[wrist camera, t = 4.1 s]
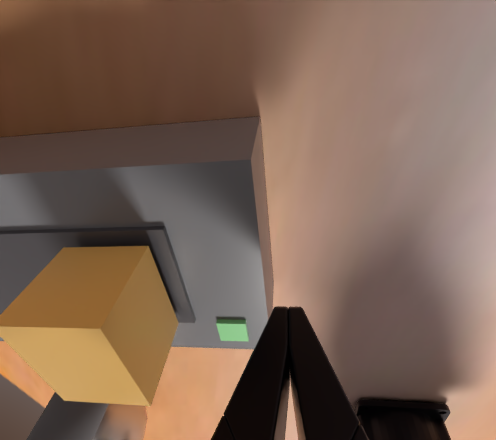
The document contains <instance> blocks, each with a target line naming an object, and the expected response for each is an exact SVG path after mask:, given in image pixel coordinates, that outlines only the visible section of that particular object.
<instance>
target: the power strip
mask: <svg viewBox="0 0 496 440" xmlns="http://www.w3.org/2000/svg"><path fill="white" fill-rule="evenodd" d="M116 246H149V249H150V251H151V254H152V256H153V259H154V262H155V264H156V267H157V269H158V272H159V274H160V277H161V279H162V282H163V285H164V287H165V290H166V292H167V295H168V297H169V300H170V302H171V305H172V307H173V310H174V313H175V315H176V318H177V320H178V323H179V324H178V327H177V330H176V333H175V336H174V339H173V341H172V344H171V347H202V348H233V349H255V346H256V344H257V342H258V340H259V338H260V336H261V334H262V332H263V330H264V328H265V325H266V323H267V321H268V319H269V317H270V315H271V313H272V311H273V286H274V280H273V268H272V255H271V243H270V231H269V218H268V206H267V193H266V181H265V168H264V156H263V144H262V131H261V119H260V116H259V117H247V118H234V119H222V120H210V121H197V122H185V123H173V124H160V125H148V126H136V127H123V128H111V129H99V130H86V131H74V132H62V133H49V134H37V135H25V136H12V137H0V315H1V314H2V313H3V311H4V310H5V309H6V308H7V307H8V306H9V305H10V304H11V303H12V302H13V301H14V300H15V299H16V298H17V297H18V295H19V294H20V293H21V292H22V291H23V290H24V289H25V288H26V287H27V286H28V285H29V284H30V283H31V282H32V281H33V279H34V278H35V277H36V276H37V275H38V274H39V273H40V272H41V271H42V270H43V269H44V268H45V267H46V266H47V265H48V264H49V262H50V261H51V260H52V259H53V258H54V257H55V256H56V255H57V254H58V253H59V252H60V251H61V250H62V249H63V248H64V247H116ZM0 341H4V340H3V339H2V338H1V337H0Z"/></svg>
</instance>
